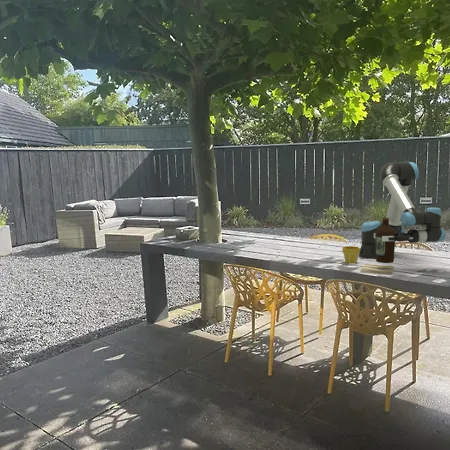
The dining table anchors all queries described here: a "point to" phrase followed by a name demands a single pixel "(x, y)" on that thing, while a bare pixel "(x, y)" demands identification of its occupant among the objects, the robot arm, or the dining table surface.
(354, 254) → the plant pot
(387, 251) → the olive oil
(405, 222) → the robot arm
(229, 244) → the dining table surface
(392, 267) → the ash board
